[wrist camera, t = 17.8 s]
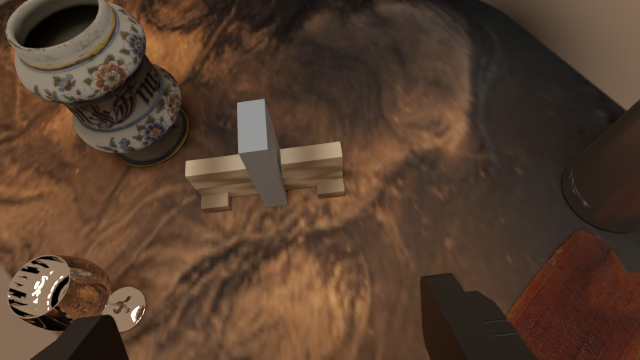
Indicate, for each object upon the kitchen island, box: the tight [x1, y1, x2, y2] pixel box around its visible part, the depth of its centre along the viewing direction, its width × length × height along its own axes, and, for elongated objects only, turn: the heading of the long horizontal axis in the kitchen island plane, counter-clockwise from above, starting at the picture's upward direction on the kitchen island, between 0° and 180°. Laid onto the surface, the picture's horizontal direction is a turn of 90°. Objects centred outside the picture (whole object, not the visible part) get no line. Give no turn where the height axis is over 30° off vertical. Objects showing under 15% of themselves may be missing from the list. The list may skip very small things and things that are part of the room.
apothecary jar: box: [6, 0, 189, 167], centre depth 40 cm, size 12×12×18 cm
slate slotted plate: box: [237, 99, 288, 208], centre depth 38 cm, size 2×5×12 cm, turn 7°
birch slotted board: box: [185, 142, 345, 213], centre depth 41 cm, size 16×5×6 cm, turn 96°
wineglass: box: [7, 255, 146, 332], centre depth 33 cm, size 6×6×12 cm
